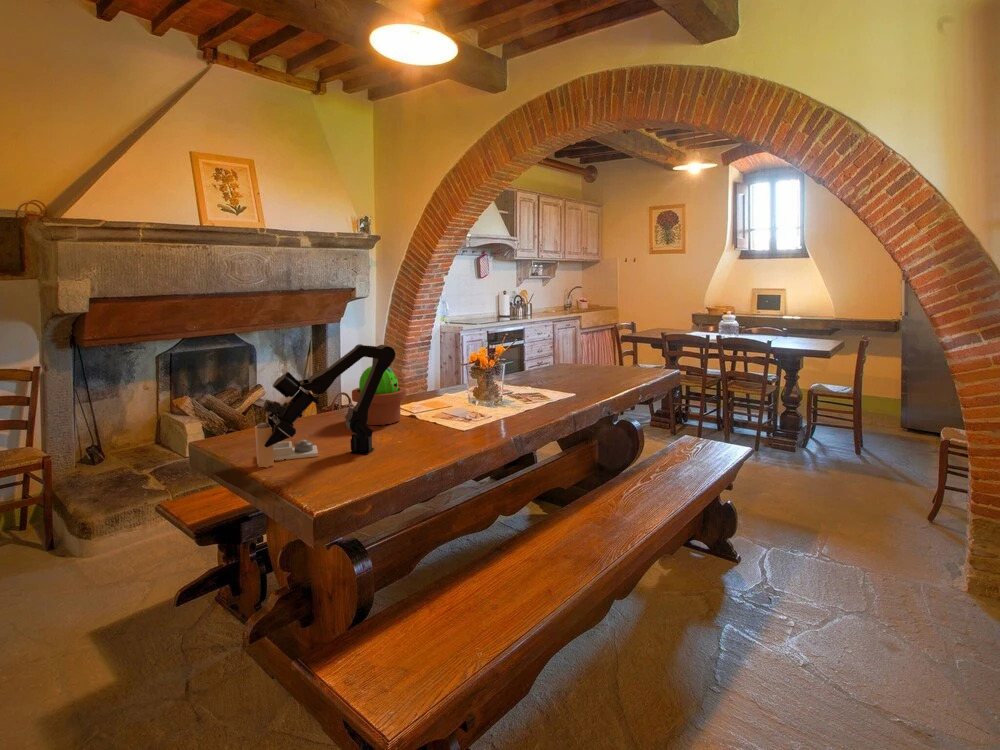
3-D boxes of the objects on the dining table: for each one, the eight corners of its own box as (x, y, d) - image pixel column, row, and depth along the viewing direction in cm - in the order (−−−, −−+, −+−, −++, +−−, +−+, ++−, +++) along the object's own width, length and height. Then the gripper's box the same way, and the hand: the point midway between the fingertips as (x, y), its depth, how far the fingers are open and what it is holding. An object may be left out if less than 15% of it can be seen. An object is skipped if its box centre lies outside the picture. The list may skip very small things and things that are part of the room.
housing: (316, 448, 210) (315, 435, 209) (318, 456, 200) (317, 443, 200) (262, 453, 203) (261, 440, 203) (261, 461, 194) (260, 448, 193)
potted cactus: (343, 425, 241) (341, 366, 237) (367, 413, 262) (365, 358, 258) (393, 429, 236) (391, 368, 232) (413, 416, 257) (412, 360, 253)
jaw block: (271, 462, 194) (269, 422, 191) (274, 466, 190) (271, 425, 187) (257, 464, 191) (254, 423, 189) (259, 468, 187) (256, 426, 185)
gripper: (272, 386, 197) (239, 421, 193) (283, 396, 181) (247, 435, 177) (297, 406, 202) (265, 441, 198) (310, 418, 186) (275, 456, 183)
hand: (263, 443), depth 189 cm, fingers open, 9 cm apart
